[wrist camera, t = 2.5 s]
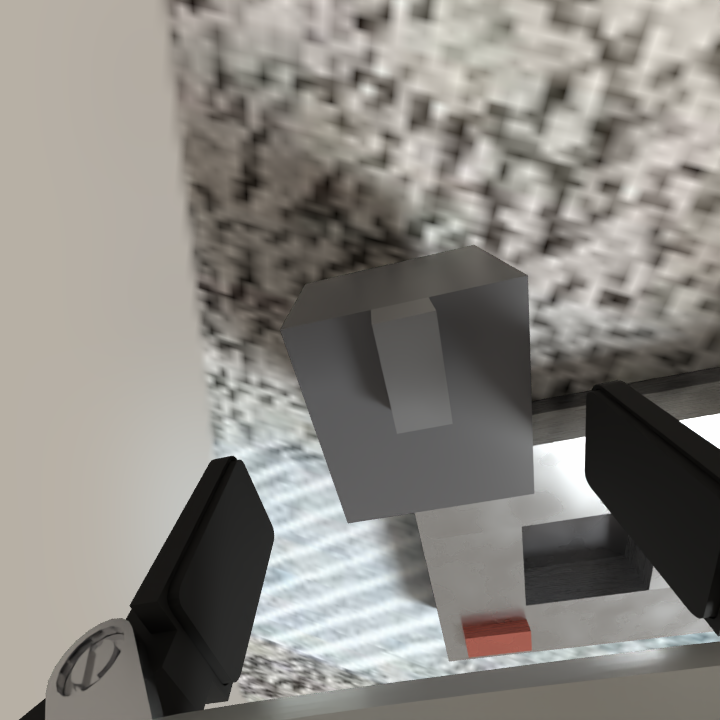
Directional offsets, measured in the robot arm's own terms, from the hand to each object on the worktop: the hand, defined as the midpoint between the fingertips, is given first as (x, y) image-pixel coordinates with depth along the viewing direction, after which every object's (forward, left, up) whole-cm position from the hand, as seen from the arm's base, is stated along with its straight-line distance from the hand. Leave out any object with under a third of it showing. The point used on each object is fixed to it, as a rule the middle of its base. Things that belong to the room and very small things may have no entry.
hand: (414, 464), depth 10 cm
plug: (-1, 0, -8) cm, 8 cm away
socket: (+12, +7, -8) cm, 16 cm away
